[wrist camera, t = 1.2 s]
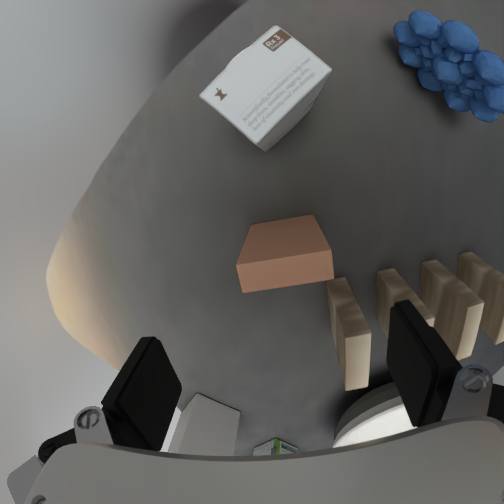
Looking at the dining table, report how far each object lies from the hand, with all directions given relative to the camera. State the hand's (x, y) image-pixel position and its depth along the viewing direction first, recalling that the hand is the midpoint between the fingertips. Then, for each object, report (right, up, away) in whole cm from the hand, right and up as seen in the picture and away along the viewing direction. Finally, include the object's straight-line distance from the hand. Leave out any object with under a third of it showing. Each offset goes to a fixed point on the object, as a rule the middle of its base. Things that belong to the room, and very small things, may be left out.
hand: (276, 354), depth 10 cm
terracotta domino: (+2, +6, +17) cm, 18 cm away
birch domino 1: (+8, -2, +19) cm, 21 cm away
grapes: (+17, +22, +10) cm, 29 cm away
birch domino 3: (+19, 0, +17) cm, 26 cm away
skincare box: (+1, +17, +13) cm, 21 cm away
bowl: (+19, -18, +24) cm, 36 cm away
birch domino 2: (+14, -1, +18) cm, 23 cm away
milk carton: (-7, -20, +27) cm, 35 cm away
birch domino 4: (+24, +1, +16) cm, 29 cm away
